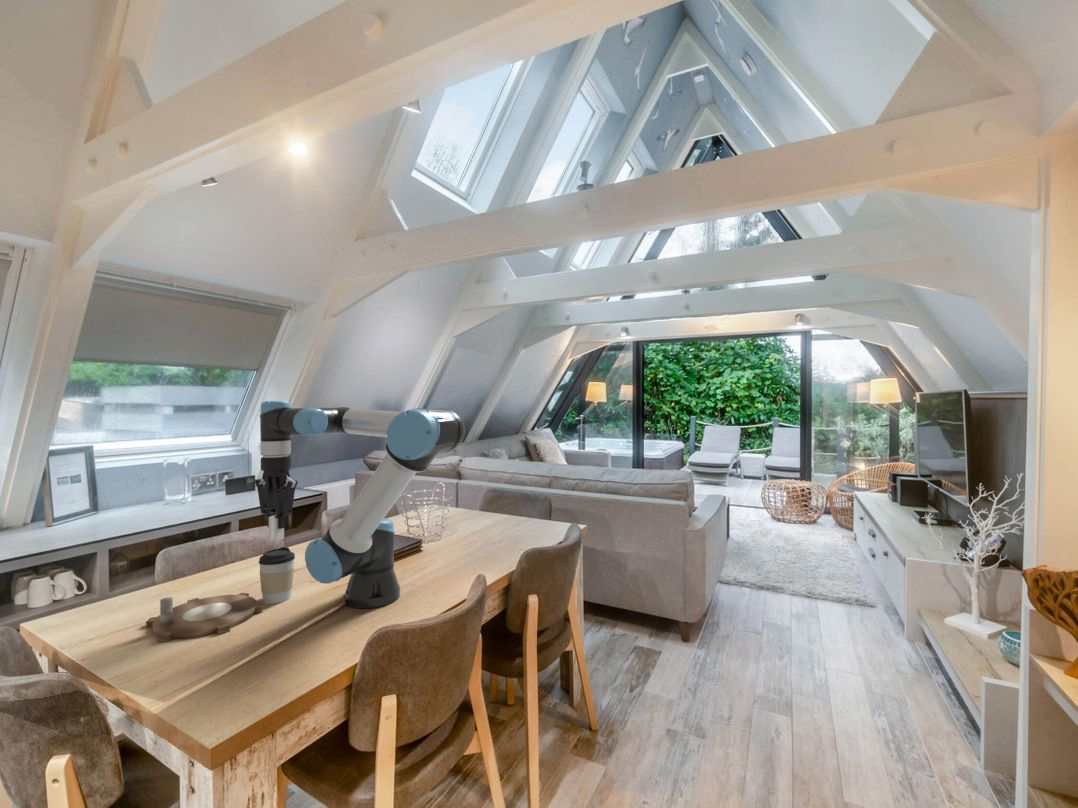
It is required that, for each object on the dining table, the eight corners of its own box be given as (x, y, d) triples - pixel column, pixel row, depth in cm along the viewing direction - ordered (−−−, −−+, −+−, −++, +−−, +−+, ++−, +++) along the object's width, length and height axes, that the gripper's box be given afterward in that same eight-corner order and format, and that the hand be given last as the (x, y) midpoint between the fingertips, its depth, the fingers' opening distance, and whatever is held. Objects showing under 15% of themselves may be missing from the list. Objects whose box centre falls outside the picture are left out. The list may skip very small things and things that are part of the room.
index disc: (239, 591, 140) (239, 566, 140) (274, 616, 124) (274, 587, 124) (139, 618, 123) (139, 589, 123) (165, 651, 107) (165, 618, 107)
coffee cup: (279, 612, 130) (279, 556, 130) (250, 609, 132) (250, 554, 132) (302, 598, 139) (302, 546, 139) (275, 595, 141) (275, 544, 141)
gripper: (306, 455, 136) (307, 537, 136) (267, 453, 141) (267, 534, 141) (285, 458, 129) (285, 545, 129) (244, 456, 134) (245, 541, 134)
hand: (276, 539), depth 135 cm, fingers closed
